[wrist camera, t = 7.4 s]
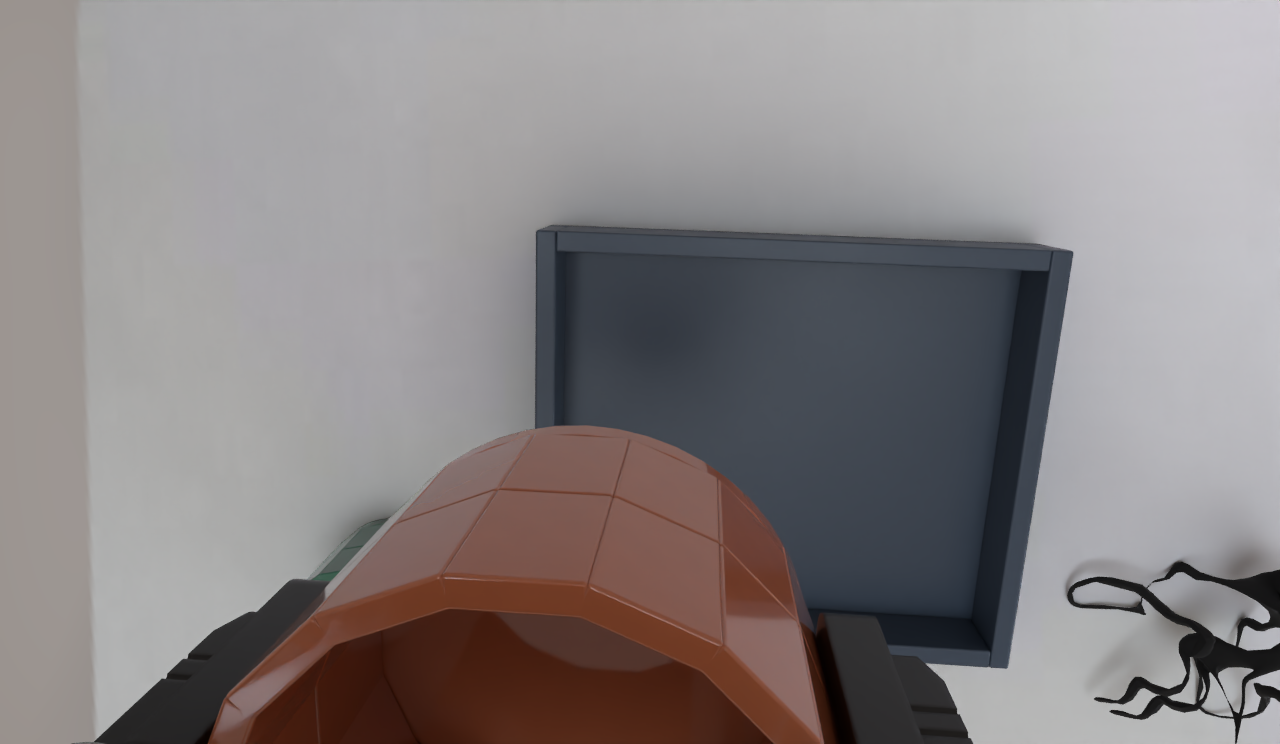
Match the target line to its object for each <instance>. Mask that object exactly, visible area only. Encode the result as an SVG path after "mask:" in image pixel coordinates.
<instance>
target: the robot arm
mask: <svg viewBox="0 0 1280 744" xmlns="http://www.w3.org/2000/svg"><path fill="white" fill-rule="evenodd" d="M330 582H331V581H320V580H303V579H292V580H290V581H289V582H288V583H286V584H285V585H284V586H283V587H282V588H281V589H280V590H279V591H278V592H277V593H276V594H275V595H274V596H273V597H272V598H271V599H270V600H269V601H268V602H267V603H266V604H265V605H264V606H263V607H262V608H261V609H260V610H259V611H258V612H248V613H246V614H244V615H242V616H240V617H238V618H237V619H235V620H233V621H231V622H229V623H227V624H225V625H223V626H222V627H220V628H218V629H216V630H214V631H213V632H212V633H211V634H210V635H208V636H207V637H206V638H205V639H204V640H203V641H202V642H201V643H200V644H199V645H198V646H197V647H196V648H194V649H193V650H192V651H191V652H190V653H189V654H188V658H187V659H183V660H182V661H180V662H179V663H178V664H177V665H176V666H175V667H174V668H173V669H172V670H171V671H170V672H169V673H168V674H167V678H166V679H161V680H160V681H159V682H158V683H157V684H156V685H155V686H154V687H152V688H151V689H150V690H149V691H148V692H147V693H146V694H145V695H144V696H143V697H142V698H141V699H139V700H138V701H137V702H136V703H135V704H134V705H133V706H132V707H131V708H130V709H129V710H128V711H127V712H125V713H124V714H123V715H122V716H121V717H120V718H119V719H118V720H117V721H116V722H115V723H114V724H113V725H111V726H110V727H109V728H108V729H107V730H106V731H105V732H104V733H103V734H102V735H101V736H100V737H99V738H97V739H96V740H95V741H94V742H82V743H73V744H208V741H209V738H210V736H211V733H212V730H213V727H214V724H215V722H216V719H217V716H218V713H219V710H220V708H221V705H222V702H223V699H224V698H225V697H226V696H227V694H228V692H229V691H230V690H231V689H232V688H233V687H234V686H235V685H236V684H237V683H238V681H239V680H240V679H241V678H242V677H243V676H244V675H245V674H246V673H247V672H248V671H249V670H250V668H251V667H252V666H253V665H254V664H255V663H256V662H257V661H258V660H259V659H260V658H261V657H262V655H263V654H264V653H265V652H266V651H267V650H268V649H269V648H270V647H271V646H272V645H273V644H274V642H275V641H276V640H277V639H278V638H279V637H280V636H281V635H282V634H283V633H284V632H285V631H286V630H287V628H288V627H289V626H290V625H291V624H292V623H293V622H294V621H295V620H296V619H297V618H298V617H299V615H300V614H301V613H302V612H303V611H304V610H305V609H306V608H307V607H308V606H309V605H310V604H311V602H312V601H313V600H314V599H315V598H316V597H317V596H318V595H319V594H320V593H321V592H322V591H323V590H324V589H325V587H326V586H327V585H328V584H329V583H330ZM816 639H817V643H818V648H819V652H820V656H821V661H822V665H823V669H824V674H825V678H826V682H827V687H828V691H829V695H830V699H831V704H832V708H833V712H834V718H835V721H836V725H837V730H838V734H839V738H840V743H841V744H973V742H972V740H971V738H968V732H967V729H966V727H965V725H964V723H963V721H962V719H961V716H960V714H957V708H956V706H955V704H954V701H953V699H952V697H951V695H950V693H949V691H948V688H947V686H946V684H945V682H944V681H943V680H942V679H941V678H940V677H939V676H938V675H937V674H936V673H935V672H934V671H932V670H931V669H930V668H929V667H928V666H927V665H926V664H925V663H924V662H923V661H921V660H920V659H919V658H918V657H917V656H903V655H891V654H890V651H889V648H888V646H887V643H886V640H885V638H884V635H883V633H882V630H881V627H880V625H879V622H878V620H877V618H876V617H875V616H868V615H852V614H836V613H820V615H819V617H818V622H817V630H816Z"/></svg>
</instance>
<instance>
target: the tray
mask: <svg viewBox="0 0 1280 744" xmlns="http://www.w3.org/2000/svg"><path fill="white" fill-rule="evenodd" d="M1072 258H1073V251H1070V250H1065V249H1060V248H1055V247H1050V246H1045V245H1040V244H1028V243H1002V242H976V241H951V240H925V239H899V238H874V237H848V236H822V235H797V234H771V233H745V232H720V231H694V230H668V229H643V228H617V227H591V226H566V225H550V226H548V227H545V228H542V229H540V230H537V231H536V364H535V429H538V428H545V427H552V426H580V425H588V426H597V427H606V428H614V429H620V430H624V431H629V432H633V433H637V434H641V435H645V436H649V437H651V438H654V439H656V440H659V441H662V442H664V443H667V444H670V445H672V446H675V447H677V448H679V449H681V450H683V451H685V452H687V453H689V454H690V455H692V456H694V457H696V458H698V459H700V460H702V461H704V462H705V463H706V464H708V465H709V466H711V467H712V468H714V469H715V470H716V471H718V472H719V473H721V474H722V475H723V476H725V477H726V478H728V479H729V480H730V481H731V482H732V483H733V484H734V485H735V486H737V487H738V488H739V489H740V490H741V491H742V492H743V493H744V494H745V495H746V496H747V497H749V498H750V499H751V501H752V502H753V503H754V504H755V505H756V507H757V508H758V509H759V510H760V511H761V513H762V514H763V515H764V516H765V517H766V518H767V520H768V521H769V522H770V524H771V525H772V527H773V529H774V530H775V532H776V533H777V535H778V537H779V538H780V540H781V541H782V543H783V544H784V546H785V548H786V551H787V553H788V555H789V557H790V560H791V562H792V564H793V566H794V568H795V571H796V574H797V577H798V581H799V584H800V587H801V591H802V594H803V598H804V602H805V604H806V607H807V610H808V612H809V615H810V618H811V620H812V623H813V626H814V630H815V635H816V630H817V622H818V617H819V615H820V613H836V614H852V615H868V616H875V617H876V618H877V620H878V622H879V625H880V627H881V630H882V633H883V635H884V638H885V640H886V643H887V646H888V648H889V651H890V654H891V655H903V656H917V657H918V658H919V659H920V660H921V661H923V662H924V663H930V664H945V665H960V666H975V667H988V666H989V667H991V668H1005V669H1006V668H1008V664H1009V657H1010V651H1011V645H1012V638H1013V632H1014V626H1015V619H1016V613H1017V607H1018V600H1019V594H1020V588H1021V581H1022V575H1023V569H1024V562H1025V556H1026V550H1027V543H1028V537H1029V531H1030V524H1031V518H1032V512H1033V505H1034V499H1035V493H1036V486H1037V480H1038V474H1039V467H1040V461H1041V455H1042V448H1043V442H1044V436H1045V429H1046V423H1047V417H1048V410H1049V404H1050V398H1051V391H1052V385H1053V379H1054V372H1055V366H1056V360H1057V353H1058V347H1059V341H1060V334H1061V328H1062V322H1063V315H1064V309H1065V303H1066V296H1067V290H1068V284H1069V277H1070V271H1071V265H1072Z"/></svg>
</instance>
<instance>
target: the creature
mask: <svg viewBox="0 0 1280 744" xmlns="http://www.w3.org/2000/svg"><path fill="white" fill-rule="evenodd" d="M1177 572H1184V573H1186V574H1188V575H1189V576H1191V577H1192V578H1194V579H1195V580H1203V581H1212V582H1216V583H1219V584H1222V585H1225V586H1228V587H1230V588H1232V589H1235V590H1237V591H1239V592H1241V593H1243V594H1245V595H1247V596H1249V597H1251V598H1253V599H1254V600H1256V601H1257V602H1259V603H1260V604H1261V605H1262V606H1263V607H1265V608H1266V609H1267V610H1268V611H1269V614H1270V620H1269V622H1267V623H1264V624H1261V623H1259V622H1258V621H1256V620H1254V619H1251V618H1248V617H1247V618H1244V619H1241V621H1240V623H1239V625H1238V633H1237V642H1236V646H1234V645H1232V644H1229V643H1227V642H1225V641H1223V640H1221V639H1220V638H1218V637H1215V636H1213V634H1212V633H1211V632H1210V631H1209V630H1208V629H1206V628H1205V627H1204V626H1202V625H1201V624H1199V623H1197V622H1196V621H1193V620H1191V619H1188V618H1185V617H1182V616H1180V615H1177V614H1175V613H1174V612H1173V611H1172V610H1170V609H1169V608H1168V607H1167V606H1166V605H1165V604H1164V603H1162V602H1161V601H1160V600H1159V599H1158V598H1157V597H1156V596H1155V595H1154V594H1153V593H1152V592H1150V591H1149V590H1148V589H1147V588H1148V587H1149V586H1150V585H1149V586H1148V587H1147V588H1145V587H1144V586H1143V585H1141V584H1137V583H1133V582H1129V581H1125V580H1120V579H1116V578H1112V577H1093V578H1088V579H1085V580H1082V581H1079V582H1077V583H1075V584H1074V585H1072V586H1071V587H1070V589H1069V591H1068V600H1069V602H1070V603H1071V604H1072V605H1073V606H1075V607H1079V608H1093V609H1119V610H1125V611H1130V612H1135V613H1140V614H1142V615H1146V613H1145V612H1144V609H1143V606H1142V598H1144V599H1145V600H1146V601H1148V602H1149V603H1150V604H1151V605H1152V606H1153V607H1154V608H1155V609H1156V610H1157V611H1158V612H1159V613H1161V614H1162V615H1163V616H1164V617H1165V618H1167V619H1169V620H1171V621H1173V622H1175V623H1177V624H1180V625H1184V626H1187V627H1190V628H1192V629H1193V630H1194V631H1195V632H1196V633H1193V634H1188V635H1186V636H1185V637H1183V638H1182V639H1181V641H1180V642H1179V654H1180V656H1181V658H1182V660H1183V663H1184V666H1185V669H1186V672H1187V674H1186V676H1185V678H1184V680H1183V682H1182V684H1180V685H1177V686H1175V687H1173V688H1170V689H1167V688H1164V687H1161V686H1157V685H1154V684H1152V683H1150V682H1149V681H1147V680H1146V679H1144V678H1142V677H1135V678H1134V679H1133V680H1132V681H1131V683H1130V684H1129V686H1128V688H1127V691H1126V693H1125V695H1124V696H1123V697H1122V698H1121V699H1119V700H1110V699H1106V698H1100V697H1096V698H1094V699H1095V700H1096V701H1099V702H1106V703H1118V704H1125V703H1127V702H1129V701H1131V700H1132V699H1133V698H1134V697H1135V696H1136V694H1137V693H1138V691H1139V690H1140V689H1142V688H1145V689H1147V690H1149V691H1151V692H1153V693H1155V694H1158V695H1159V696H1156V697H1154V698H1152V700H1151V701H1150V702H1149V703H1148V705H1147V706H1146V708H1145V710H1144V711H1143V712H1142V714H1140V715H1137V716H1136V715H1132V714H1129V713H1126V712H1124V711H1118V710H1111V711H1109V712H1111V713H1113V714H1116V715H1120V716H1124V717H1129V718H1133V719H1140V720H1143V719H1146V718H1148V717H1150V716H1151V715H1152V714H1155V713H1157V712H1158V711H1159V709H1160V708H1161V707H1162V706H1163V705H1166V706H1168V707H1170V708H1171V709H1173V710H1176V711H1180V712H1184V713H1185V712H1191V711H1197V710H1198V709H1200V710H1201V711H1202V712H1204V713H1205V714H1209V715H1212V716H1216V717H1221V718H1230V719H1234V722H1235V726H1236V729H1235V744H1236V743H1237V738H1238V733H1239V729H1240V724H1241V719H1243V718H1251V717H1254V716H1256V715H1258V714H1260V713H1262V712H1263V711H1264V710H1265V709H1266V707H1267V706H1268V704H1269V703H1270V698H1275V699H1277V700H1278V701H1279V702H1280V690H1277V689H1276V688H1274V687H1271V686H1264V685H1261V684H1259V683H1254V687H1255V690H1256V693H1257V694H1258V695H1259V696H1260V697H1261V700H1260V703H1259V707H1258V711H1257V712H1254V713H1250V714H1247V715H1243V716H1242V714H1243V709H1244V704H1245V686H1246V683H1247V682H1248V681H1249V680H1251V679H1254V678H1256V677H1259V676H1262V675H1265V674H1267V673H1270V672H1274V671H1277V670H1280V643H1279V644H1277V645H1276V646H1274V647H1273V648H1271V649H1266V650H1251V651H1247V650H1245V649H1242V648H1240V647H1238V645H1239V642H1240V638H1241V635H1242V631H1243V628H1244V627H1245V626H1248V627H1250V628H1252V629H1254V630H1256V631H1265V630H1268V629H1271V628H1275V627H1277V628H1280V570H1276V571H1272V572H1266V573H1261V574H1258V575H1256V576H1253V577H1249V578H1245V579H1238V580H1227V579H1222V578H1217V577H1213V576H1210V575H1207V574H1204V573H1201V572H1199V571H1197V570H1196V569H1194V568H1193V567H1191V566H1190V565H1188V564H1186V563H1183V562H1178V563H1175V564H1174V565H1173V567H1172V568H1171V569H1170V571H1169V572H1168V573H1167V575H1166V576H1165V577H1164V578H1161V579H1157V580H1155V581H1153V582H1159V581H1163V580H1167V579H1170V578H1171V577H1172V576H1173V575H1174V574H1176V573H1177ZM1092 582H1099V583H1103V584H1107V585H1111V586H1114V587H1118V588H1122V589H1126V590H1129V591H1133V592H1136V593H1137V594H1139V595H1140V596H1141V597H1142V598H1141V602H1140V603H1139V604H1138V606H1137V607H1132V608H1124V607H1115V606H1105V605H1080V604H1077V603H1075V602H1074V599H1073V595H1072V593H1073V592H1074V590H1075V588H1077V587H1080V586H1083V585H1086V584H1089V583H1092ZM1153 582H1152V583H1153ZM1190 657H1193V658H1194V660H1195V663H1196V667H1197V670H1198V673H1199V677H1200V678H1199V685H1198V692H1197V703H1196V704H1195V705H1193V704H1188V703H1183V702H1178V701H1173V700H1171V699H1170V698H1168V696H1171V695H1174V694H1177V693H1180V692H1181V691H1182V690H1183V689H1184V687H1185V686H1186V684H1187V682H1188V680H1189V674H1190ZM1228 667H1243V668H1250V669H1253V670H1254V671H1253V672H1251V673H1250V674H1248V675H1247V676H1245V677H1244V679H1243V681H1242V703H1241V708H1240V712H1239V713H1236V712H1234V711H1233V708H1232V706H1231V704H1230V703H1229V701H1228V700H1227V701H1228V703H1229V705H1230V708H1231V711H1232V714H1233V717H1227V716H1218V715H1215V714H1213V713H1210V712H1207V711H1205V710H1204V709H1203V708H1202V707H1201V706H1202V704H1203V703H1204V702H1205V700H1206V698H1207V695H1208V692H1209V688H1210V678H1209V673H1210V672H1211V673H1212V674H1213V676H1214V677H1215V678H1216V680H1217V681H1218V683H1219V685H1220V686H1221V688H1222V690H1223V687H1222V685H1221V683H1220V681H1219V678H1218V673H1219V672H1220V671H1222V670H1224V669H1226V668H1228ZM1202 677H1203V680H1204V683H1205V686H1206V692H1205V695H1204V697H1203V698H1202V699H1201V700H1200V701H1199V699H1200V695H1201V693H1202V690H1203V680H1202ZM1223 692H1224V690H1223ZM1224 694H1225V692H1224ZM1225 696H1226V695H1225ZM1226 699H1227V697H1226Z"/></svg>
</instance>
